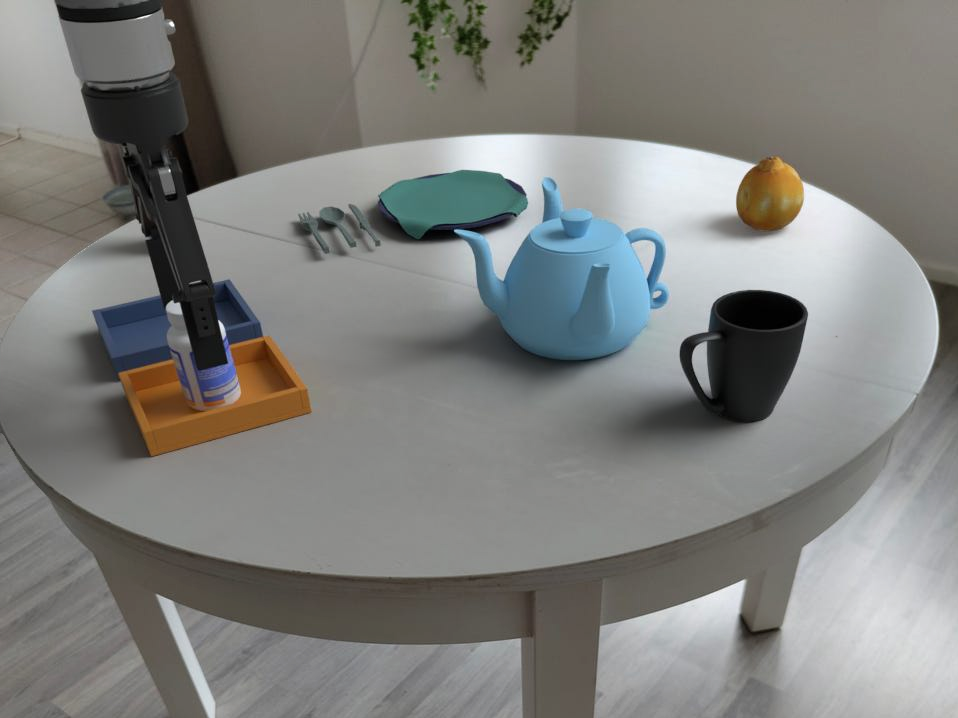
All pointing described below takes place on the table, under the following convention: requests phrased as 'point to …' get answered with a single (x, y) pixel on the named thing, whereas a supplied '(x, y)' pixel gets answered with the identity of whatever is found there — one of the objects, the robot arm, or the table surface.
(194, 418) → the tray amber
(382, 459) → the table surface
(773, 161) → the fruit
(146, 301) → the tray slate
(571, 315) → the teapot
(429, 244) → the table surface
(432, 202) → the cutlery set
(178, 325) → the pill bottle
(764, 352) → the mug
